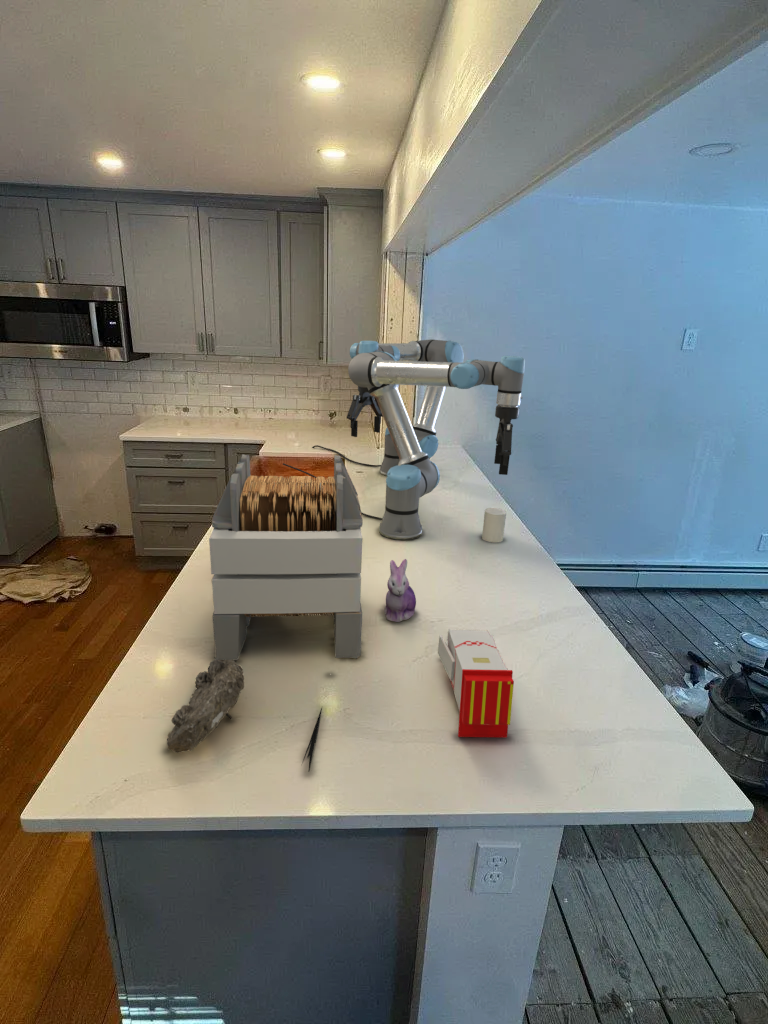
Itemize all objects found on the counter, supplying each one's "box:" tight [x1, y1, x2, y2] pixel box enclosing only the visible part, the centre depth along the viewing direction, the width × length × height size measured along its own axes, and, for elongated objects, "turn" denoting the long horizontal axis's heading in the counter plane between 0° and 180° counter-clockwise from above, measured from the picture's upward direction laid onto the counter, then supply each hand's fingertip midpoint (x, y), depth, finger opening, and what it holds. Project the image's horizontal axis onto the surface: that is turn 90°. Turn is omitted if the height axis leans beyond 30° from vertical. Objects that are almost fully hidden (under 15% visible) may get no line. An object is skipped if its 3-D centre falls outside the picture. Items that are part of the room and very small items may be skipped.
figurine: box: [384, 558, 417, 623], centre depth 145 cm, size 9×10×15 cm
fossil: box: [166, 659, 245, 754], centre depth 106 cm, size 22×10×15 cm
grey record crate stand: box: [208, 453, 364, 661], centre depth 135 cm, size 34×33×41 cm
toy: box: [437, 628, 515, 738], centre depth 117 cm, size 12×13×30 cm
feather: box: [301, 673, 332, 771], centre depth 108 cm, size 2×28×2 cm
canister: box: [481, 507, 507, 544], centre depth 198 cm, size 7×7×10 cm
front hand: (500, 468), depth 191 cm, fingers open, 13 cm apart
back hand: (365, 434), depth 232 cm, fingers open, 13 cm apart
